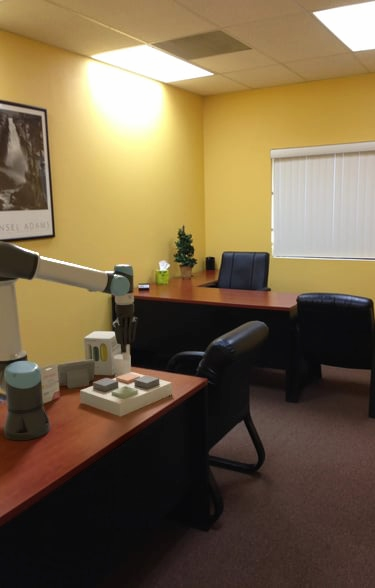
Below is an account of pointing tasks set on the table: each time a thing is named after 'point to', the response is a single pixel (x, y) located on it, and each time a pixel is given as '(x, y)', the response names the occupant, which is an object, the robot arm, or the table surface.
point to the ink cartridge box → (49, 383)
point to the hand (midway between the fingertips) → (126, 359)
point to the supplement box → (102, 351)
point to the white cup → (121, 365)
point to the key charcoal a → (105, 385)
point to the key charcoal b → (146, 382)
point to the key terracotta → (127, 378)
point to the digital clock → (76, 373)
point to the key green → (124, 392)
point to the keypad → (126, 405)
